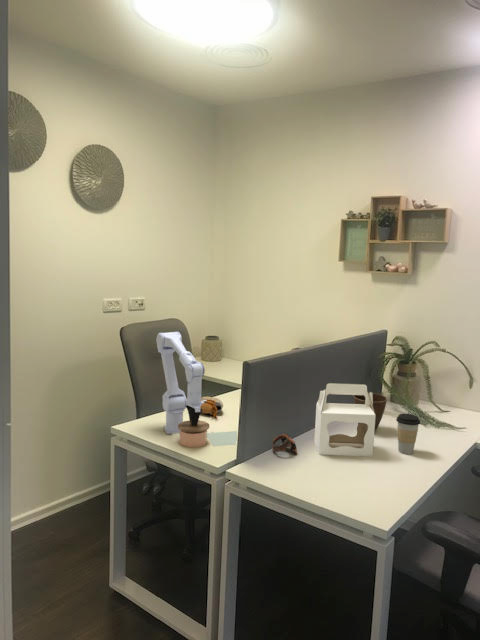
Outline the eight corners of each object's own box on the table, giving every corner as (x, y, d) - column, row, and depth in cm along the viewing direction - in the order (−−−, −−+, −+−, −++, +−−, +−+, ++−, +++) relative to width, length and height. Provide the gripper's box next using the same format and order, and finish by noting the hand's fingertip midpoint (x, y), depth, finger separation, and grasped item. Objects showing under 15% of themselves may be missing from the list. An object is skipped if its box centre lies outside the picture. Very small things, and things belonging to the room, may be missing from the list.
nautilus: (228, 422, 240) (196, 424, 237) (220, 405, 260) (191, 408, 257) (227, 406, 238) (196, 409, 235) (220, 391, 259) (191, 393, 256)
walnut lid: (175, 423, 214) (175, 415, 214) (205, 420, 218) (205, 413, 218) (181, 433, 202) (181, 426, 201) (212, 430, 206) (212, 423, 205)
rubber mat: (204, 434, 221) (204, 433, 221) (237, 432, 226) (237, 430, 225) (213, 447, 207) (213, 446, 207) (247, 444, 211) (248, 443, 211)
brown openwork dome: (299, 459, 200) (291, 443, 197) (277, 466, 202) (269, 450, 199) (298, 440, 211) (290, 425, 208) (277, 448, 213) (269, 432, 210)
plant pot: (391, 434, 230) (393, 400, 227) (363, 437, 224) (366, 402, 222) (371, 423, 243) (373, 391, 241) (345, 426, 238) (347, 393, 236)
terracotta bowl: (177, 439, 214) (177, 425, 214) (202, 437, 218) (203, 423, 217) (182, 449, 204) (183, 434, 203) (209, 446, 207) (209, 432, 207)
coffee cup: (402, 456, 204) (405, 421, 202) (389, 447, 213) (392, 413, 211) (422, 455, 207) (425, 419, 205) (408, 446, 216) (411, 412, 214)
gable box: (365, 444, 216) (369, 380, 213) (373, 456, 203) (378, 389, 200) (313, 442, 216) (317, 378, 213) (318, 454, 203) (322, 387, 200)
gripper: (208, 396, 202) (207, 429, 204) (199, 386, 216) (199, 417, 218) (190, 397, 200) (190, 430, 202) (183, 387, 214) (182, 418, 216)
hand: (193, 423), depth 210 cm, fingers closed on walnut lid, 3 cm apart
